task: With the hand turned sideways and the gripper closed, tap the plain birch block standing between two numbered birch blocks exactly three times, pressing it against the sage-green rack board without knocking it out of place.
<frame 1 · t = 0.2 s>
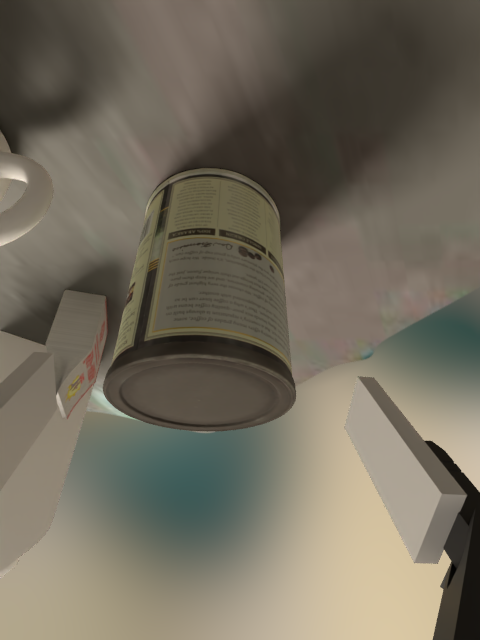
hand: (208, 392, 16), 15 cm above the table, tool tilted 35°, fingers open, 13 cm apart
milk: (38, 364, 47), on the table
coffee can: (214, 225, 28), on the table
white juice carton: (88, 311, 38), on the table
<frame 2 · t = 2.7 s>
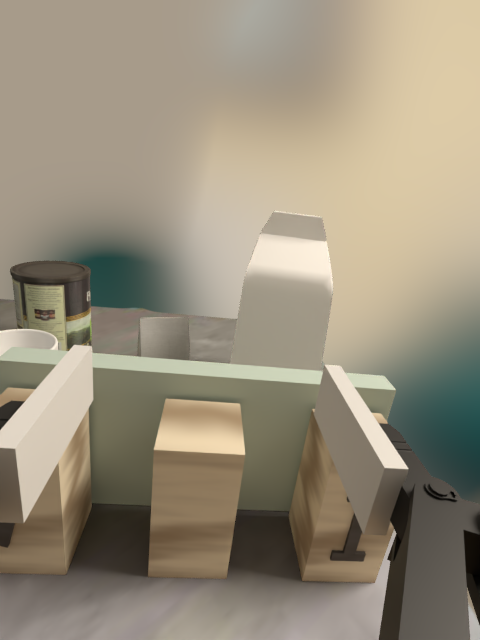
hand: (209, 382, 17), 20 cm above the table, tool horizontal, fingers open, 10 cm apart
milk: (267, 397, 54), on the table
mug: (22, 418, 44), on the table
coffee can: (57, 357, 58), on the table
numbered block 1: (328, 546, 32), on the table
rack board: (194, 497, 36), on the table
plain block: (190, 542, 31), on the table
white juice carton: (161, 381, 55), on the table
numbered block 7: (42, 537, 30), on the table
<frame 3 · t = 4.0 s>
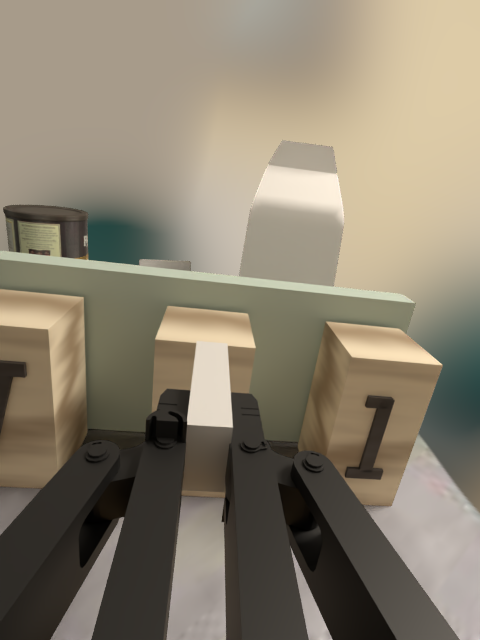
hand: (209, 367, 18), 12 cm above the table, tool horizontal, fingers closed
milk: (271, 347, 52), on the table
coffee can: (53, 307, 56), on the table
numbered block 1: (340, 473, 30), on the table
rack board: (196, 426, 33), on the table
plain block: (193, 465, 29), on the table
white juice carton: (161, 330, 53), on the table
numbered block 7: (33, 455, 28), on the table
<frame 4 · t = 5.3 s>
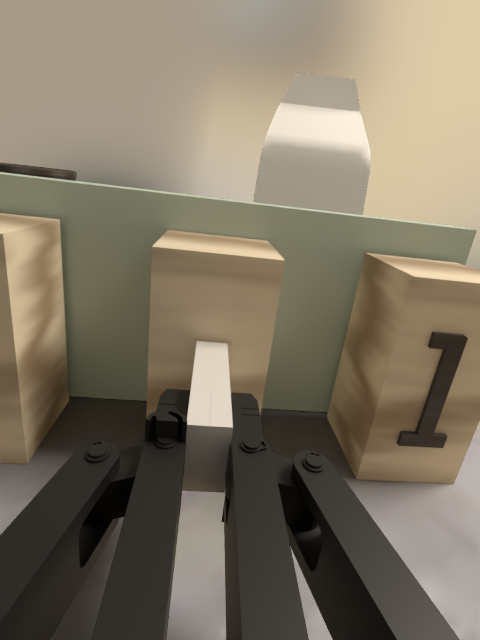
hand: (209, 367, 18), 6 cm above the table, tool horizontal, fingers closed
milk: (284, 319, 46), on the table
coffee can: (39, 279, 50), on the table
numbered block 1: (383, 446, 24), on the table
rack board: (203, 395, 27), on the table
plain block: (201, 432, 23), on the table, touching gripper
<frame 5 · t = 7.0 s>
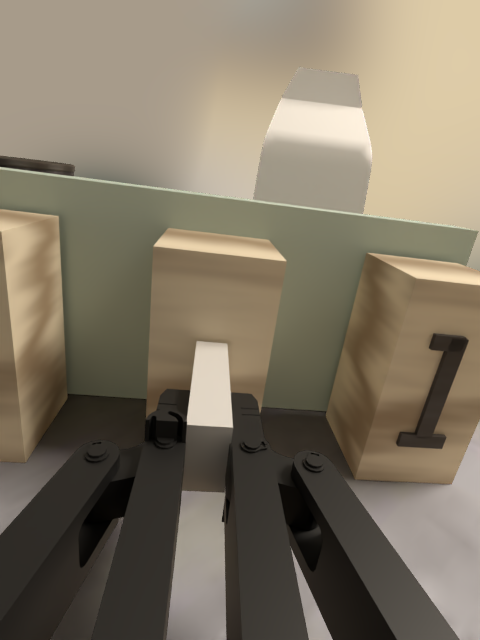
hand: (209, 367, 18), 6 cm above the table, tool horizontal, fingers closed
milk: (283, 317, 46), on the table
coffee can: (36, 274, 49), on the table
numbered block 1: (382, 446, 24), on the table
rack board: (202, 393, 27), on the table
plain block: (200, 430, 24), on the table, touching gripper, rack board
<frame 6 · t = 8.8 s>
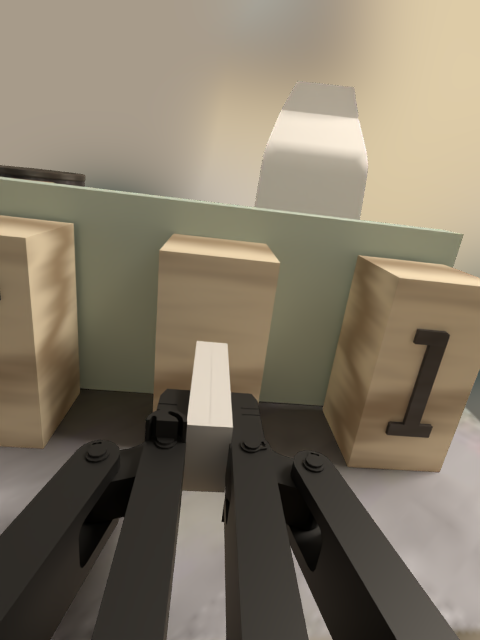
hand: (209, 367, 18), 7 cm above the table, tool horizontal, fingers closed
milk: (284, 318, 48), on the table
coffee can: (48, 278, 52), on the table
numbered block 1: (375, 438, 26), on the table
rack board: (206, 389, 29), on the table
plain block: (203, 422, 25), on the table
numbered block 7: (15, 414, 24), on the table
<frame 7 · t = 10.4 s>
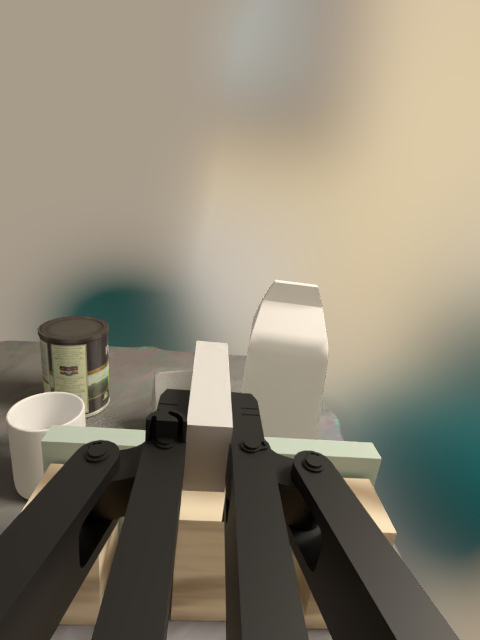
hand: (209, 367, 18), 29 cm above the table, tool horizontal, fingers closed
milk: (270, 442, 59), on the table
mug: (51, 470, 49), on the table
coffee can: (78, 403, 63), on the table
numbered block 1: (325, 595, 37), on the table
rack board: (207, 547, 40), on the table
plain block: (205, 587, 36), on the table
white juice carton: (174, 427, 60), on the table
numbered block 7: (78, 589, 35), on the table
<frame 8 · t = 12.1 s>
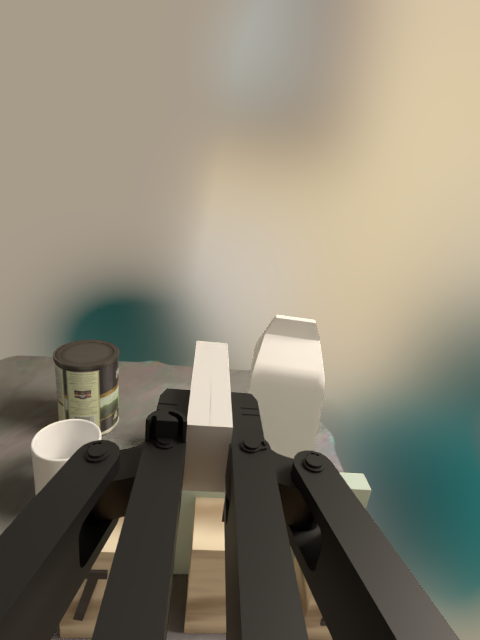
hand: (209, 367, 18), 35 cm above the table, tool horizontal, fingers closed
milk: (270, 460, 63), on the table
mug: (68, 490, 53), on the table
coffee can: (89, 422, 67), on the table
numbered block 1: (319, 608, 42), on the table
rack board: (214, 565, 45), on the table
plain block: (213, 602, 41), on the table
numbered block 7: (100, 605, 39), on the table
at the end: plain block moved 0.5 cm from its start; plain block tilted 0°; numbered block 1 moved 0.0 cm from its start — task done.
